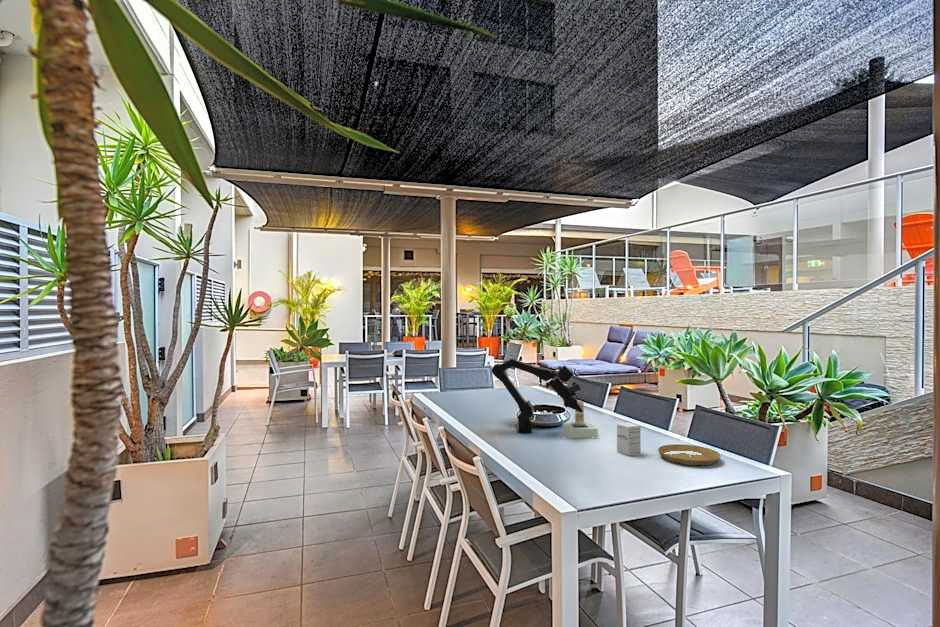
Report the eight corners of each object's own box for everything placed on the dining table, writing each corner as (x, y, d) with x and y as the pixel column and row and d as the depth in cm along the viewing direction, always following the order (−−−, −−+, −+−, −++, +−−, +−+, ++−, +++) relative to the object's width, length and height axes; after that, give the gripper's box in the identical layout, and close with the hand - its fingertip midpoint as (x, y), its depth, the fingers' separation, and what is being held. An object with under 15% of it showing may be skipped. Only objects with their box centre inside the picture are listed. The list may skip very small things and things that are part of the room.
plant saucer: (656, 449, 221) (656, 441, 221) (715, 453, 214) (715, 446, 214) (659, 465, 198) (659, 457, 198) (725, 471, 191) (725, 462, 191)
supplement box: (616, 451, 217) (616, 423, 217) (629, 449, 220) (629, 421, 220) (628, 456, 210) (628, 427, 210) (641, 453, 213) (641, 425, 213)
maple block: (583, 425, 244) (583, 403, 244) (575, 424, 245) (575, 402, 245) (583, 423, 248) (583, 401, 248) (575, 422, 249) (575, 401, 249)
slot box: (569, 438, 239) (569, 429, 239) (562, 431, 253) (562, 422, 253) (597, 437, 240) (597, 428, 240) (589, 430, 254) (589, 422, 254)
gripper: (570, 380, 238) (594, 403, 235) (572, 375, 256) (593, 396, 254) (554, 395, 240) (577, 419, 237) (557, 389, 258) (578, 411, 256)
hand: (582, 411), depth 246 cm, fingers closed on maple block, 4 cm apart
